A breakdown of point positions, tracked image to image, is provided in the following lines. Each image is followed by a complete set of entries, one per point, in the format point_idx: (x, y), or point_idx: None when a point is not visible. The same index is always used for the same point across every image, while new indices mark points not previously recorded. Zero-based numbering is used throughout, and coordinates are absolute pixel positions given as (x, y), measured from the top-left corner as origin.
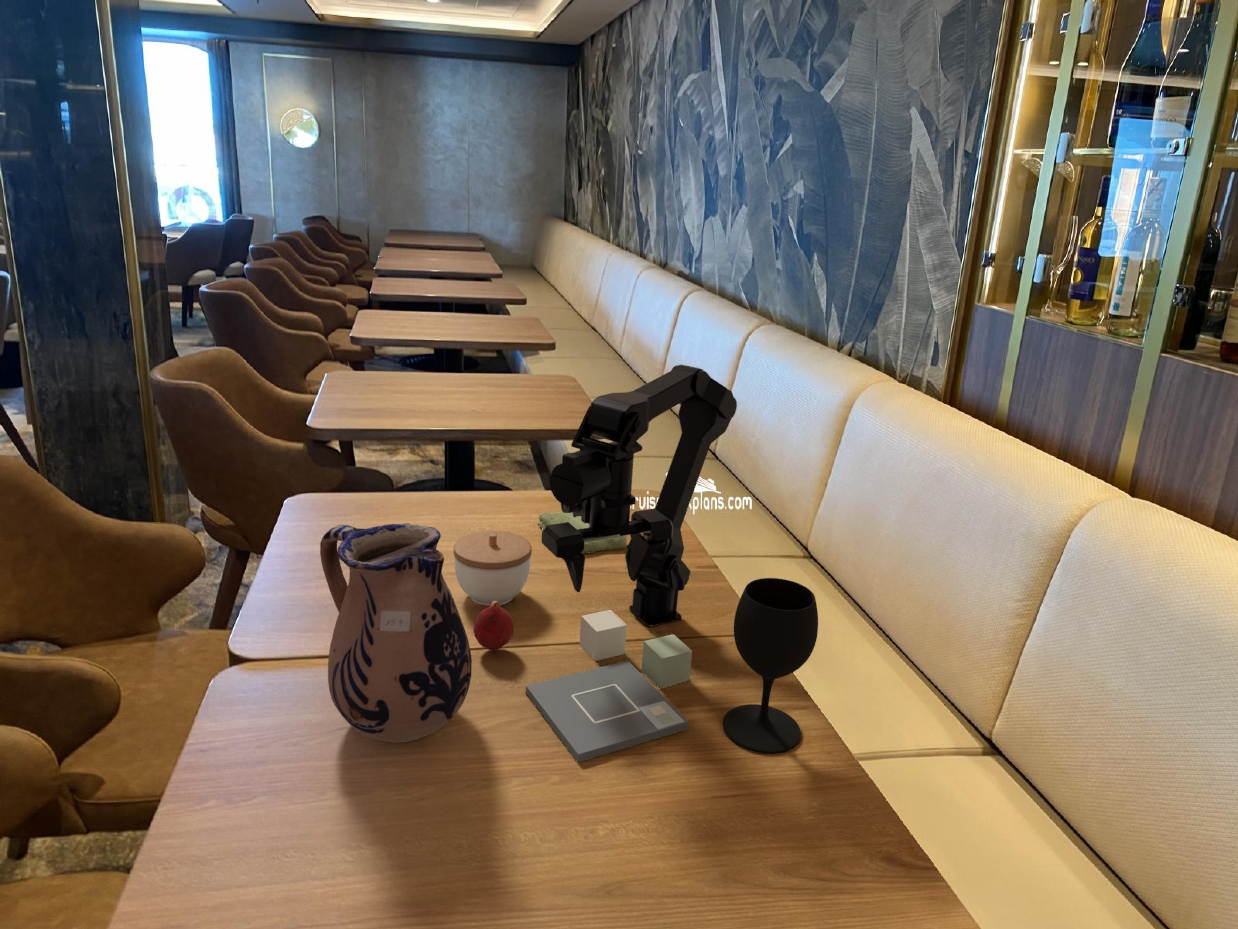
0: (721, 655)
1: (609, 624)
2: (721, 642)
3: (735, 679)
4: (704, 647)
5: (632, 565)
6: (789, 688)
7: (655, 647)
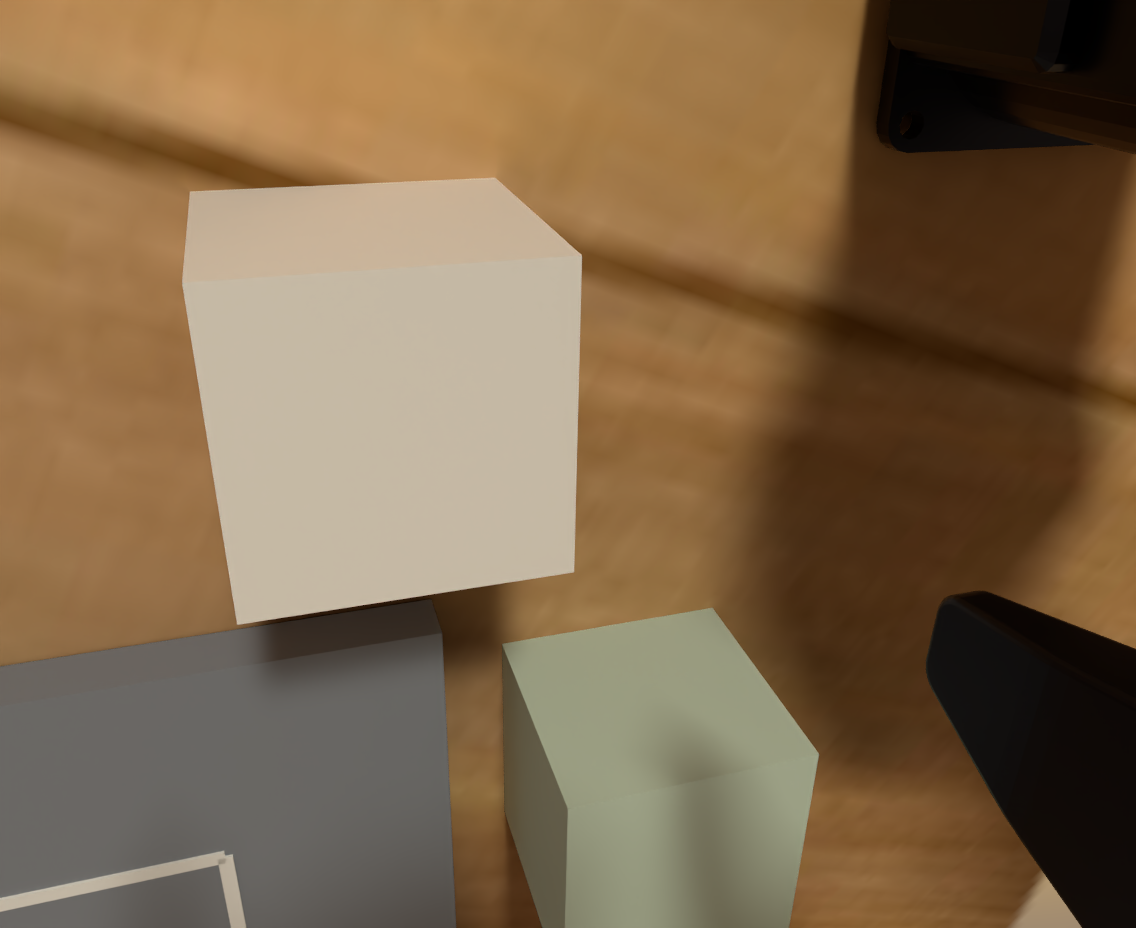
0: (1006, 593)
1: (423, 532)
2: (1107, 475)
3: (901, 786)
4: (994, 499)
5: (1115, 779)
6: (1033, 865)
7: (599, 883)
